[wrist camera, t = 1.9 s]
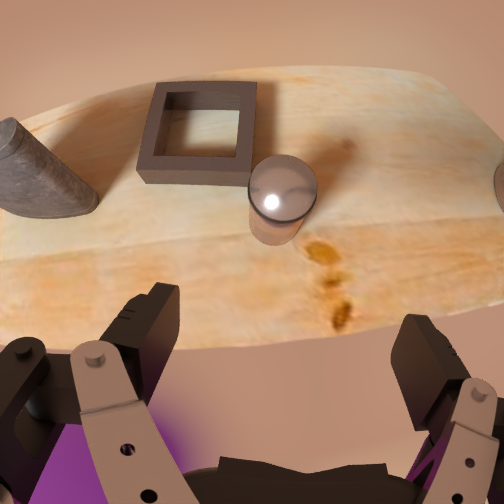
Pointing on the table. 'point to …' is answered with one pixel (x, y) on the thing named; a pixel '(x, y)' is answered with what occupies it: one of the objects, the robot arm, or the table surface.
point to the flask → (38, 178)
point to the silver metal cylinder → (280, 198)
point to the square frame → (198, 167)
